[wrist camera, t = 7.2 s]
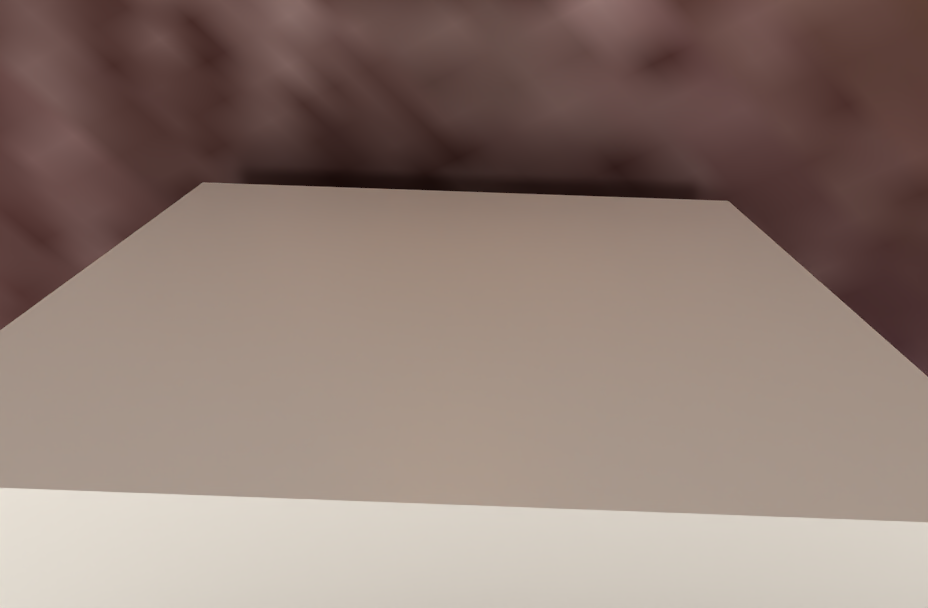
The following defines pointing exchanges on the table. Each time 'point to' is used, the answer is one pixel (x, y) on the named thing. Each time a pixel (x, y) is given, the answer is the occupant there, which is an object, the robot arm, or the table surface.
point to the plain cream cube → (456, 413)
